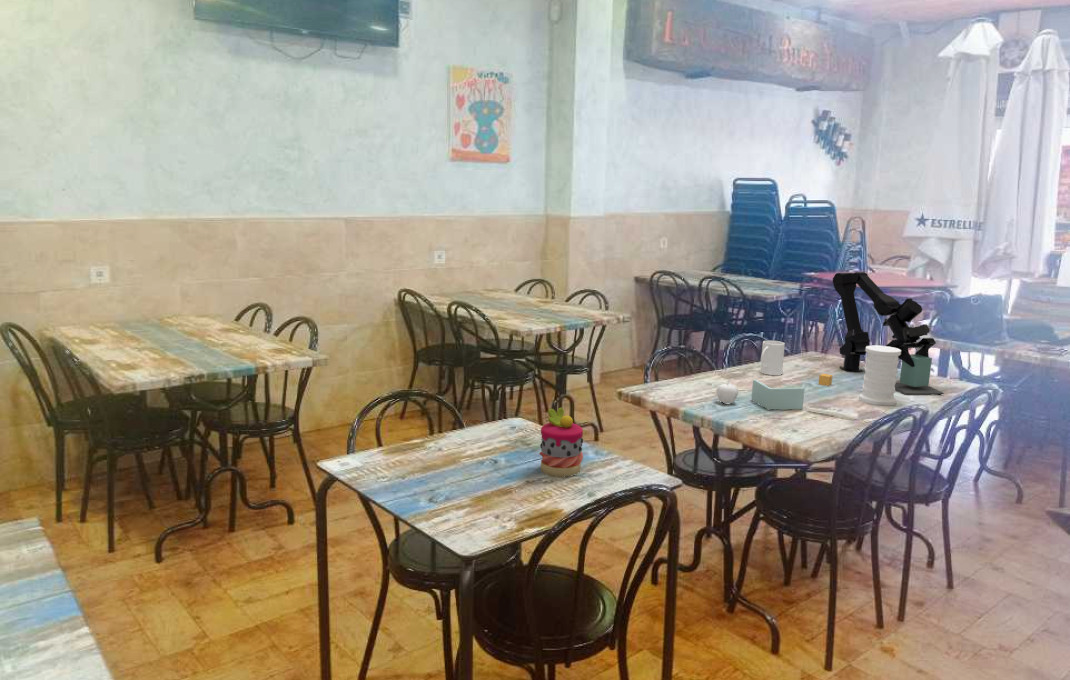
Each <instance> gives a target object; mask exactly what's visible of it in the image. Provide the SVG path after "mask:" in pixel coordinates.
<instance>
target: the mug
mask: <svg viewBox="0 0 1070 680" xmlns="http://www.w3.org/2000/svg"><path fill="white" fill-rule="evenodd" d="M785 345H786V343H785V342H783V341H778V340H763V341H762V347H761V354H760V355H761V356H760V367H759V368H760V369H759V373H760V372H761V373H760V374H762V373H764V374H763V375H765V374H769V375H768V376H772V375H778V376H782V375H783V374H784V373H783V368H784V355H785ZM781 374H782V375H781Z"/></svg>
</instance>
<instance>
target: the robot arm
mask: <svg viewBox="0 0 1070 680" xmlns="http://www.w3.org/2000/svg"><path fill="white" fill-rule="evenodd" d="M832 285H833V287H834V290H835V292H837V294H838V295H839V296H840V299H841V300H840V301H841V305H842V310H843V313H844V314H843V315H844V319H845V325H846V330H847V331H846V334H845V337H844V344H842V346H841V347H839V350H838V351H839V354H840V355H842V356H844V359H843V366H839V368H840V369H841V370H843V371H845V372H863V369H861V368H860V365H861V364H860V363H861V356H866V355H867V352H866V351H865V350H866V346H870V343H871V340H870V338H869V332H868V331H864V330H863V329H862V327H861V321H860V318H859V312H858V308H857V306H858V305H857V303H856V298H855V291H856V289H857V286H858V287H859V288H860V289H861V291H863V293H865V294H866V295H867V297H868V298H870V300H871V301H872V303H873V308H874V310H875V311H876V312H877V314H878V315H879V316H883V317H885V316H886V317H887V316H888V317H887V318H883V319H884V321H883V322H882V326H883V327H889V328H890V330H891V333H892V334H893V335H892V336H891V338H892V339H891V341H889V342H888V343H887V344H886V345H885V346H888V347H894V348H898V349H900V350H901V355H899V356H898V360H900V361H901V362H902V361H904V362H905V363H907V364H908V365H910V366H911V367H914V366H915V365H914V362H913V360H912V358H911V356H910V355H911V353H910V352H909V349H915V351H916V352H915V353H914V354H918V355H922V356H926V357H930V356H929V355H930V354H929V350H930V349H932V348H933V346H934V345H936V344H937V342H936V341H935V338H934V337H923V338H922V339H921V337H922V336H928V334H929V333H930V327H929V326H928V324H922V325H921V324H920V325H918V326H909V325H908V323H910V322H912V321H913V320H914V319H915V318H916V317H918V315H920V314H921V313H922V312H923V307H922V305H920V303H918V302H916V301H915V300H913V299H912V298H906V299H905V300H904V302H903V303H901V304H900V302H899V301H898V300H897V299H895V298H894V297H893V296H890V295H889V294H887V293H885V292H884V291H883V290H882V289H881V288H880V287H879V286H878V285H877V284H876V282H874V281H873V280H872V279H871V278H870V276H869V274H868V273H867V272H864V271H855V272H836V273H835V274H834V275H833V278H832ZM920 339H921V340H920Z"/></svg>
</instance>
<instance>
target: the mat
mask: <svg viewBox="0 0 1070 680" xmlns="http://www.w3.org/2000/svg"><path fill="white" fill-rule="evenodd" d="M895 392H898V393H900V394H903V395H904V396H932V395H931V394H944V392H943V391H941V390H938V389H936V388H933V387H931V386H929V385H928V386H918V387H913V386H910V385H907V384H904V383H900V382H896V384H895Z"/></svg>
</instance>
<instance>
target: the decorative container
mask: <svg viewBox="0 0 1070 680" xmlns="http://www.w3.org/2000/svg"><path fill="white" fill-rule="evenodd" d="M865 351H866V357H865V362H866V363H865V366H864V375H863V384H862V393H859V396H858V399H859V401H861V402H862V403H866V404H869V405H874V406H883V405H886V406H889V407H890V406H894V405H896V404H897V400H898V399H897V398H896V397H895V396H894V395H895V393H896V390H895V384H896V383H897V374H898V372H899V371H898V365H899V363H900V361H899V358H898V356H899V355H901V350H900V349H898V348H894V347H888V346H886V345H878V344H877V345H876V344H875V345H869V346H866V350H865Z"/></svg>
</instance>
